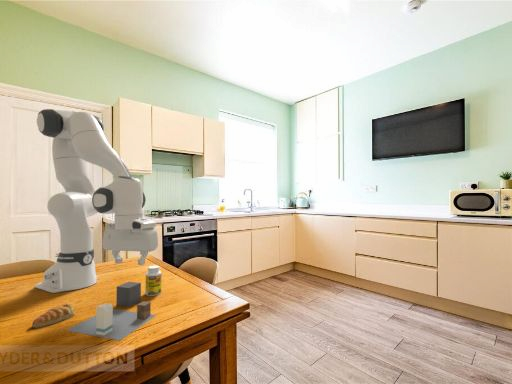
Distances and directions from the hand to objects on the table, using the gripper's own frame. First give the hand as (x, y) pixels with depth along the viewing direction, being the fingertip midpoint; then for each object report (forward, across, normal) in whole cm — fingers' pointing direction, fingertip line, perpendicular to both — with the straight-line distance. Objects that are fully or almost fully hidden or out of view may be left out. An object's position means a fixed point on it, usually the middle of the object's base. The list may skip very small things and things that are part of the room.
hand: (130, 263), depth 84 cm
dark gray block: (+14, -1, 0) cm, 14 cm away
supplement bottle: (+14, +1, +10) cm, 17 cm away
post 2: (+14, +11, -7) cm, 19 cm away
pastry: (+14, -13, -15) cm, 24 cm away
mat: (+14, +5, -12) cm, 19 cm away
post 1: (+13, +7, -17) cm, 23 cm away
